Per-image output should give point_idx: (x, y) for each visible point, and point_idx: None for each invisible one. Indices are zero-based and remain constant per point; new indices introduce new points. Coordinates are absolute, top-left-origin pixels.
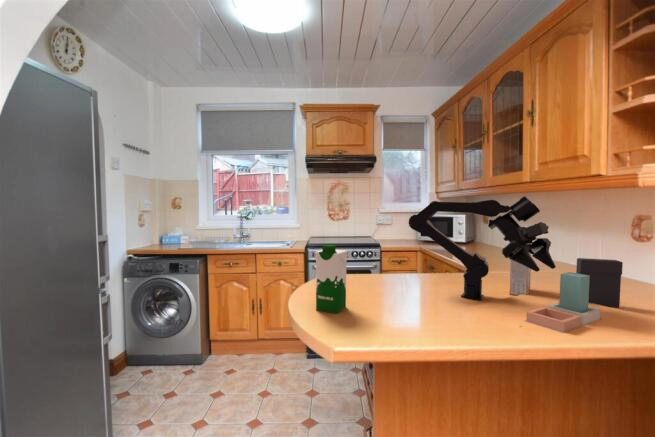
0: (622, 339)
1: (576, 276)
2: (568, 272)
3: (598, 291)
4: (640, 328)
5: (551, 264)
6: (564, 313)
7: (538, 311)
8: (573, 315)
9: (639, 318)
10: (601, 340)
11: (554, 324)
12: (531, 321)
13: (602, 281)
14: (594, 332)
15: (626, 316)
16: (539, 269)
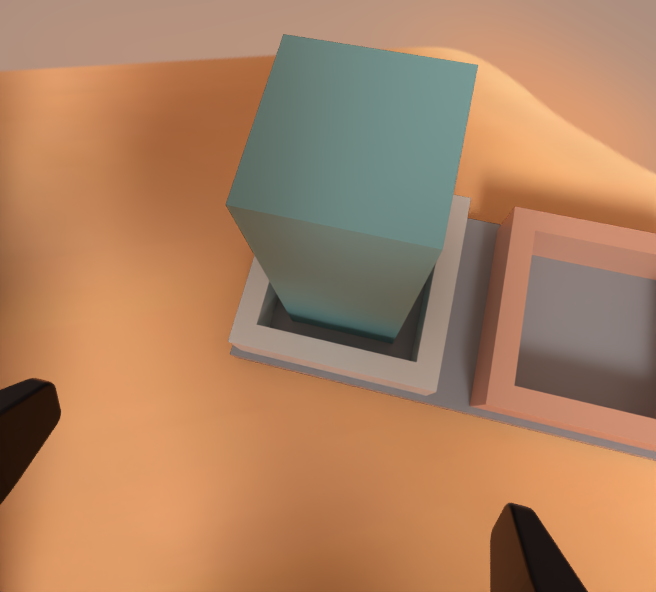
0: (480, 108)
1: (467, 101)
2: (258, 205)
3: None
4: (258, 78)
5: (5, 437)
6: (526, 281)
7: (611, 410)
8: (532, 237)
9: (90, 92)
10: (570, 157)
11: None
12: None
13: None
14: (480, 190)
15: (92, 130)
16: (520, 505)
